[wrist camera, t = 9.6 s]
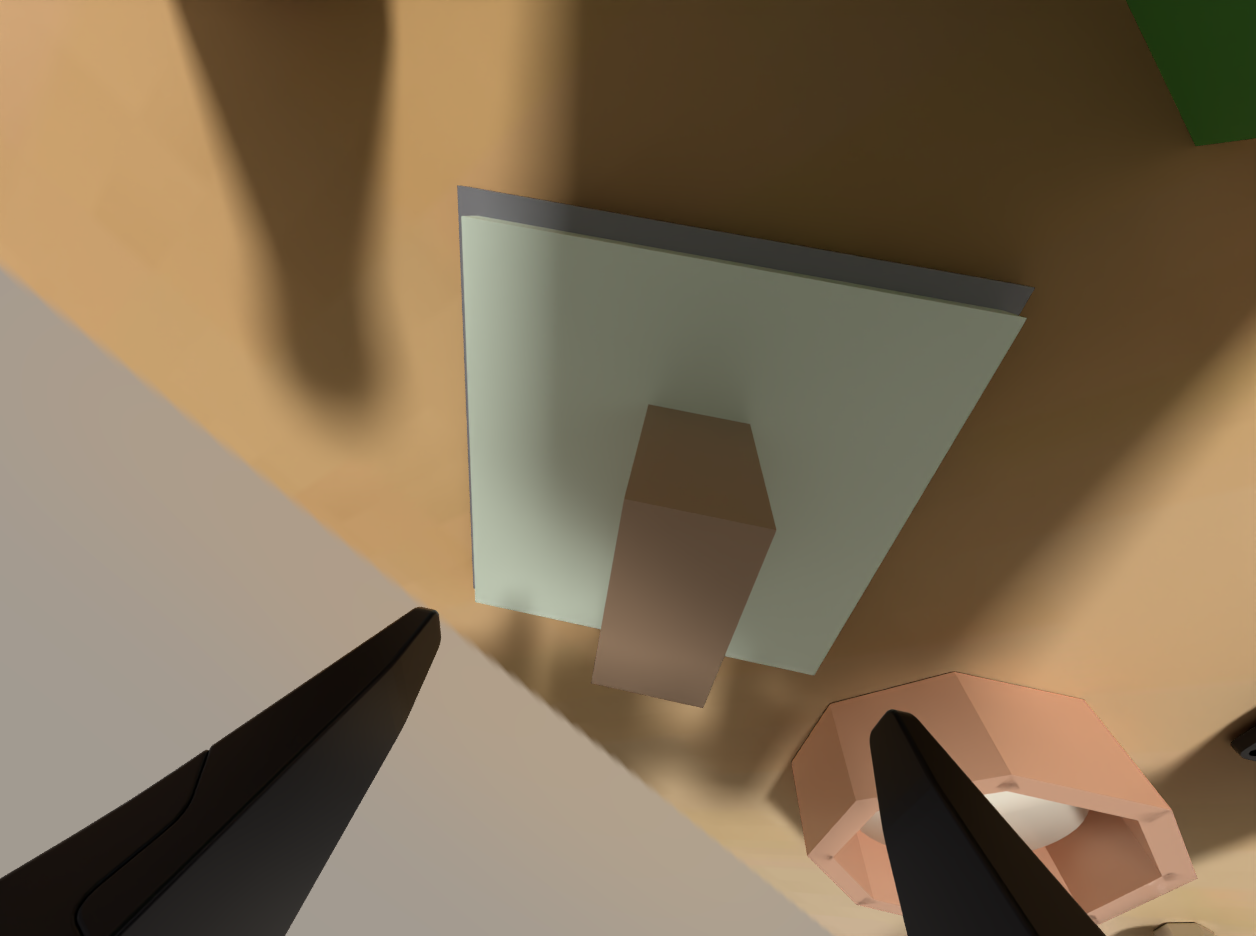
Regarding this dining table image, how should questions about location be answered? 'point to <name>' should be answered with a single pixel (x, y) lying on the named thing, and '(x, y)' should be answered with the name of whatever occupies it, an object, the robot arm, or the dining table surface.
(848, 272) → the mat
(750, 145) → the dining table surface
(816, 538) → the lid
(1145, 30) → the hardback book
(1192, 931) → the screw
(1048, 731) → the bowl
